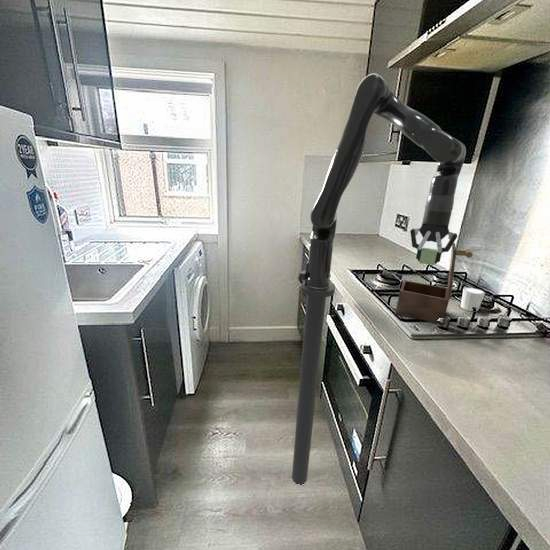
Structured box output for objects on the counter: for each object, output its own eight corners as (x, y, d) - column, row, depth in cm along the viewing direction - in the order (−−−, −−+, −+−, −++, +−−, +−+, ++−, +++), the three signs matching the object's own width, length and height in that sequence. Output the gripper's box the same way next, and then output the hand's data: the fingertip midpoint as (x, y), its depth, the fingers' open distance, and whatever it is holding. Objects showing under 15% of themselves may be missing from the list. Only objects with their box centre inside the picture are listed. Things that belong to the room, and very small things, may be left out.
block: (419, 263, 99) (421, 249, 97) (420, 260, 102) (422, 247, 101) (434, 265, 97) (437, 252, 95) (434, 262, 100) (437, 249, 99)
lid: (453, 250, 91) (474, 251, 89) (452, 243, 102) (471, 243, 99) (447, 298, 95) (468, 300, 93) (447, 286, 106) (465, 288, 103)
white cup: (473, 304, 115) (477, 287, 113) (484, 312, 109) (489, 294, 107) (455, 303, 116) (459, 286, 113) (465, 311, 109) (470, 293, 107)
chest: (395, 314, 104) (400, 290, 102) (400, 301, 115) (404, 280, 112) (442, 324, 98) (449, 300, 95) (443, 310, 109) (448, 288, 106)
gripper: (464, 210, 94) (451, 263, 99) (414, 206, 100) (405, 256, 106) (465, 212, 88) (451, 268, 93) (412, 208, 94) (402, 260, 99)
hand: (427, 261), depth 99 cm, fingers closed on block, 4 cm apart
